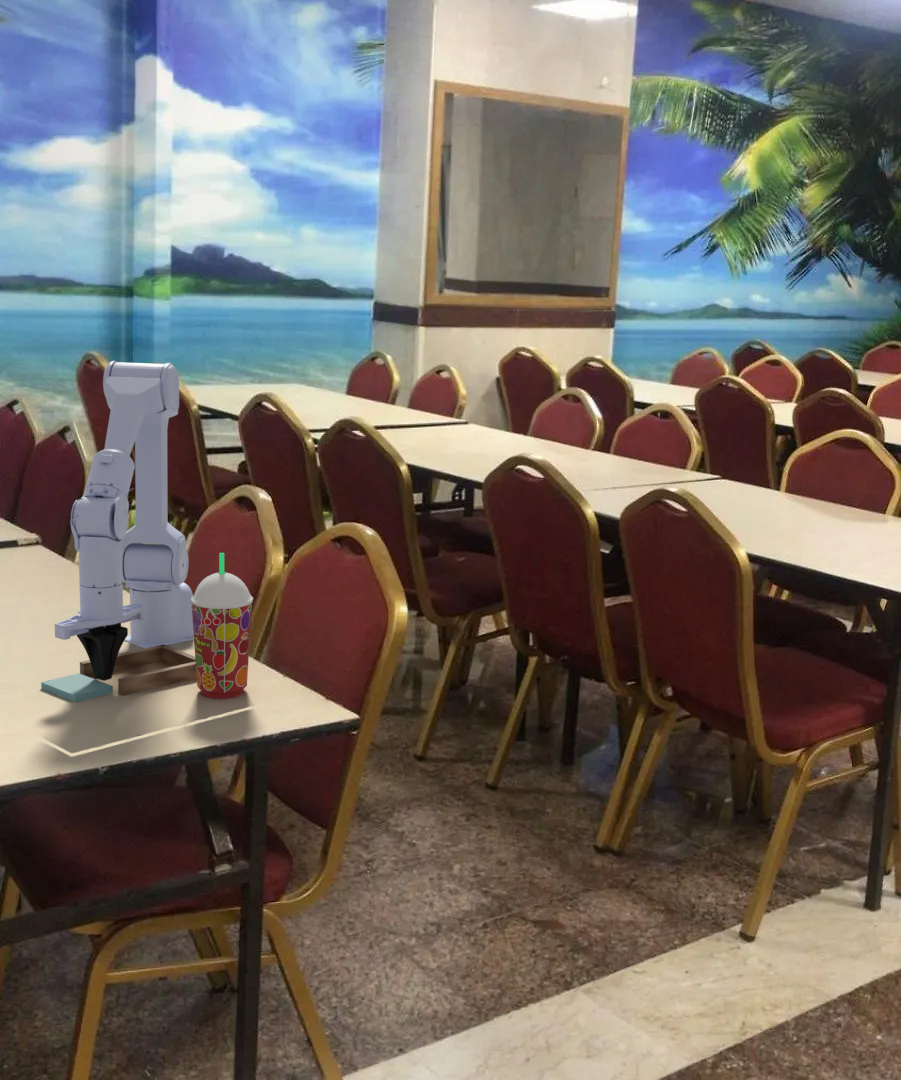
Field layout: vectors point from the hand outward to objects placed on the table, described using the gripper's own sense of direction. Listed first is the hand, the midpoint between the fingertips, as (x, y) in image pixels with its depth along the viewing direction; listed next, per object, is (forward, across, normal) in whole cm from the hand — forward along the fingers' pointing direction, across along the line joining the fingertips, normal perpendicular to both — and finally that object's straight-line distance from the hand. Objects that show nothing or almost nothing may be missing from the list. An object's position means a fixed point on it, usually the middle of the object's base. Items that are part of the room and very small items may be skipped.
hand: (103, 678), depth 185 cm
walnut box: (+1, -6, +1) cm, 6 cm away
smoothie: (+2, -8, +14) cm, 17 cm away
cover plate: (+2, +4, -1) cm, 4 cm away
